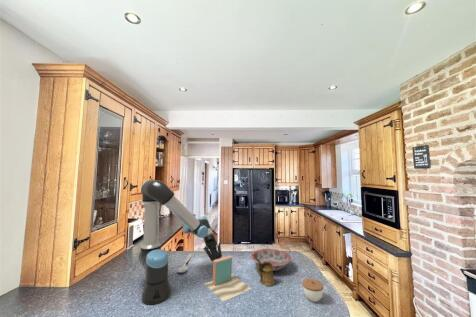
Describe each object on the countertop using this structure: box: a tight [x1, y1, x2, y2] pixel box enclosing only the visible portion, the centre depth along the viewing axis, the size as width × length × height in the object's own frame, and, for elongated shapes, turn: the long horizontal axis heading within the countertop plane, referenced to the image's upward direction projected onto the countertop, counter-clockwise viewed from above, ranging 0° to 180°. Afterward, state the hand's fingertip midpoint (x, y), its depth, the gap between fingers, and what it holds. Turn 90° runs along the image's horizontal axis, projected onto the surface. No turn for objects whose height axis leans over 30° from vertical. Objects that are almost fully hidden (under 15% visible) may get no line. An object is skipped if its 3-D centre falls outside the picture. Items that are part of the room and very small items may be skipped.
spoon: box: [176, 253, 193, 274], centre depth 149 cm, size 35×8×3 cm, turn 2°
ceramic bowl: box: [250, 248, 292, 272], centre depth 143 cm, size 29×29×8 cm
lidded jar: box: [301, 278, 324, 303], centre depth 106 cm, size 11×11×9 cm
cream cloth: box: [204, 274, 253, 302], centre depth 117 cm, size 22×20×1 cm
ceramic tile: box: [212, 255, 233, 286], centre depth 122 cm, size 3×12×14 cm, turn 127°
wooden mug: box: [253, 254, 275, 287], centre depth 123 cm, size 9×14×18 cm, turn 97°
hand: (221, 269), depth 125 cm, fingers closed
